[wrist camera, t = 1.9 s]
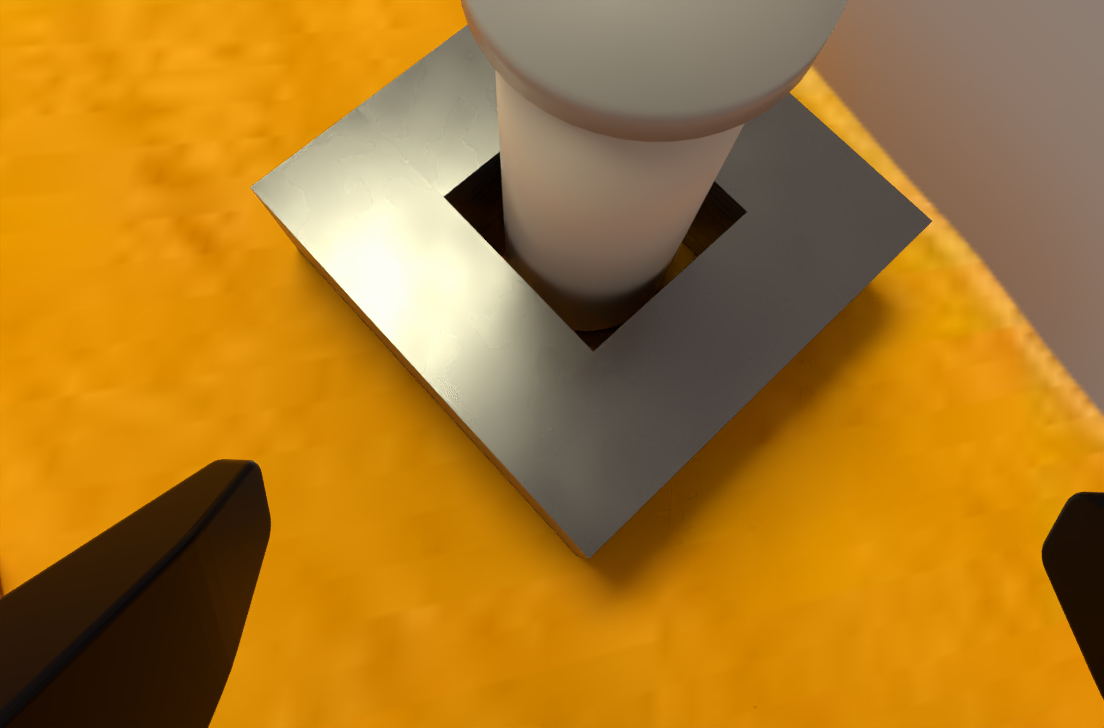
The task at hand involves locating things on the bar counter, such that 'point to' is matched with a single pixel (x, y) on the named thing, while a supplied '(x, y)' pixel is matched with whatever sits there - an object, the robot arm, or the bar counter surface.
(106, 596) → the robot arm
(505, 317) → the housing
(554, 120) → the grey peg
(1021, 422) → the bar counter surface
